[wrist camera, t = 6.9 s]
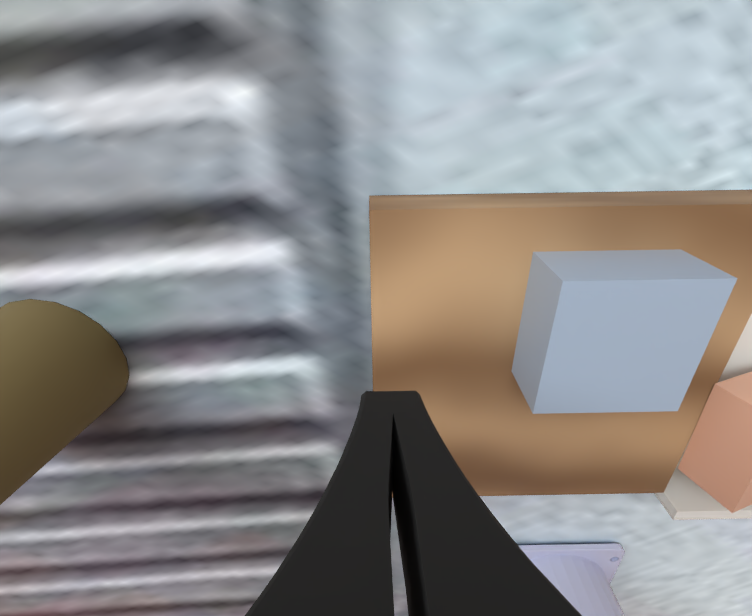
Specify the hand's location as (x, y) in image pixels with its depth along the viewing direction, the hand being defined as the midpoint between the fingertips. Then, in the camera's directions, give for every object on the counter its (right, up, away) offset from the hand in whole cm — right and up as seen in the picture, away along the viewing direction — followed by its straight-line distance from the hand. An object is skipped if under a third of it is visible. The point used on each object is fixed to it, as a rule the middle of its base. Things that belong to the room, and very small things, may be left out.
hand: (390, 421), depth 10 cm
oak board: (+7, +1, +8) cm, 10 cm away
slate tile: (+8, +3, +5) cm, 9 cm away
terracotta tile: (+16, -2, +8) cm, 18 cm away
